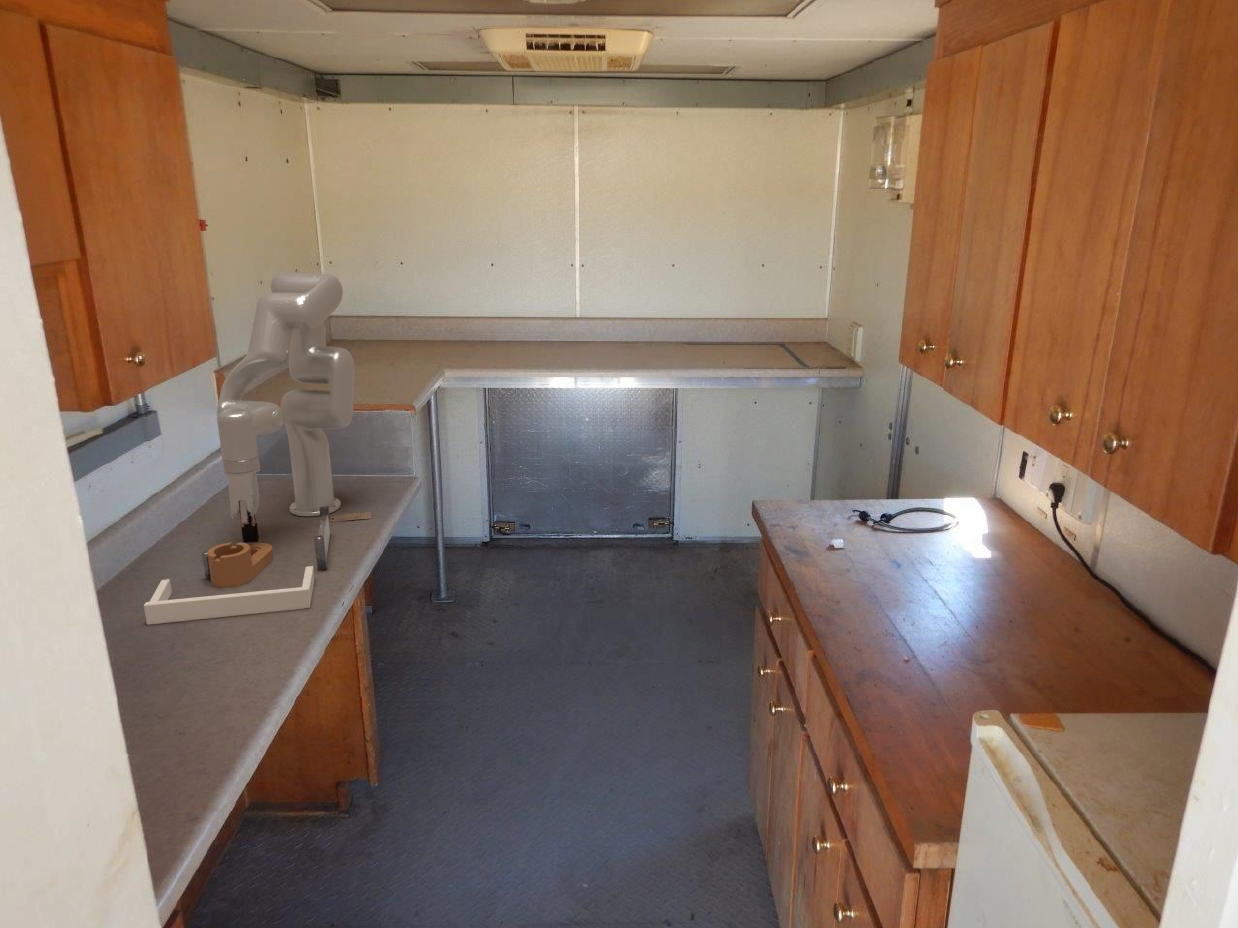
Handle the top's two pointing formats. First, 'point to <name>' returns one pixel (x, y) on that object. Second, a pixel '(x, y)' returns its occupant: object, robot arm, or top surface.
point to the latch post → (206, 565)
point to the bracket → (237, 562)
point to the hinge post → (320, 553)
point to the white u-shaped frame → (226, 602)
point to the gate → (325, 526)
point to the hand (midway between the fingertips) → (251, 540)
